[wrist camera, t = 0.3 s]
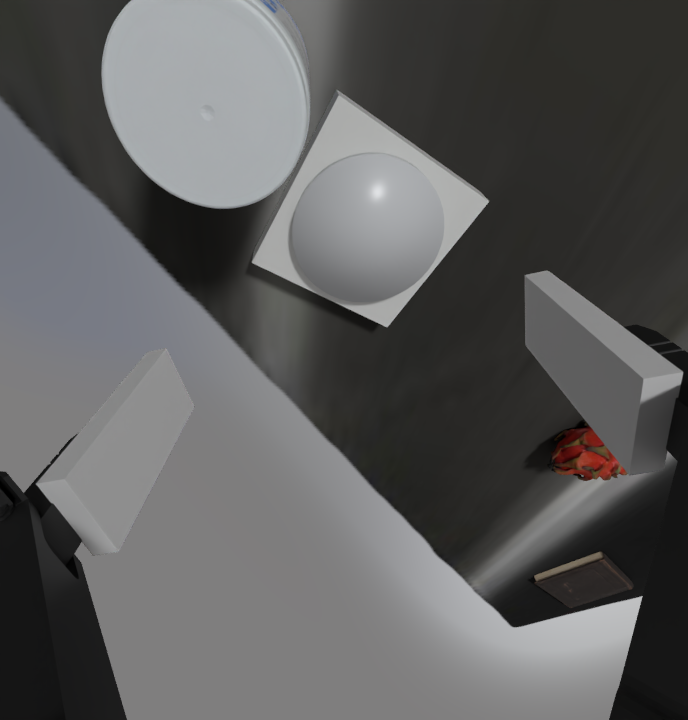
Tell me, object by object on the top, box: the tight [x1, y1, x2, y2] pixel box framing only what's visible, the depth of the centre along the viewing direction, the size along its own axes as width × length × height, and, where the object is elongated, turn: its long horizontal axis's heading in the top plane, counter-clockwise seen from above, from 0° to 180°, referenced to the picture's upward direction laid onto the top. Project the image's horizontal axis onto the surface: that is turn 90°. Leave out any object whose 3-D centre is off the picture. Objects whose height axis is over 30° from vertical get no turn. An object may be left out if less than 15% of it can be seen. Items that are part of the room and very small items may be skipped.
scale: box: [252, 89, 489, 327], centre depth 38 cm, size 15×15×4 cm
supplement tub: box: [102, 0, 310, 209], centre depth 25 cm, size 10×10×15 cm
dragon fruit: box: [547, 421, 628, 481], centre depth 60 cm, size 8×8×12 cm
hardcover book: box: [534, 551, 633, 608], centre depth 99 cm, size 16×23×2 cm
